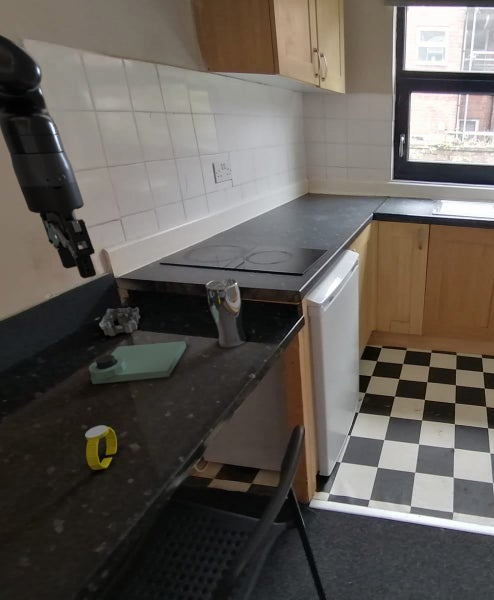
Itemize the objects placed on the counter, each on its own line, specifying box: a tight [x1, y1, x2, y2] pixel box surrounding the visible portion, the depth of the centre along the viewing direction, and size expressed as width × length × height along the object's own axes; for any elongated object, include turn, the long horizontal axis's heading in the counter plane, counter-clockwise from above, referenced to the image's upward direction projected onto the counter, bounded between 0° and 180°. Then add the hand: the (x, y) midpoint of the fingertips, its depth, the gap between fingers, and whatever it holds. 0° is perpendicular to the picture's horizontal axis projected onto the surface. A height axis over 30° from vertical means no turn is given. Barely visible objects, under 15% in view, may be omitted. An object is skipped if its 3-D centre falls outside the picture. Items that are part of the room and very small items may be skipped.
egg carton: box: [98, 306, 141, 337], centre depth 102 cm, size 11×8×4 cm
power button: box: [95, 354, 116, 369], centre depth 80 cm, size 3×3×2 cm
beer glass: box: [205, 277, 247, 348], centre depth 92 cm, size 7×7×15 cm
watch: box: [84, 424, 118, 471], centre depth 61 cm, size 6×3×6 cm, turn 13°
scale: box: [88, 341, 187, 385], centre depth 85 cm, size 14×13×4 cm
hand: (80, 271), depth 74 cm, fingers open, 8 cm apart
